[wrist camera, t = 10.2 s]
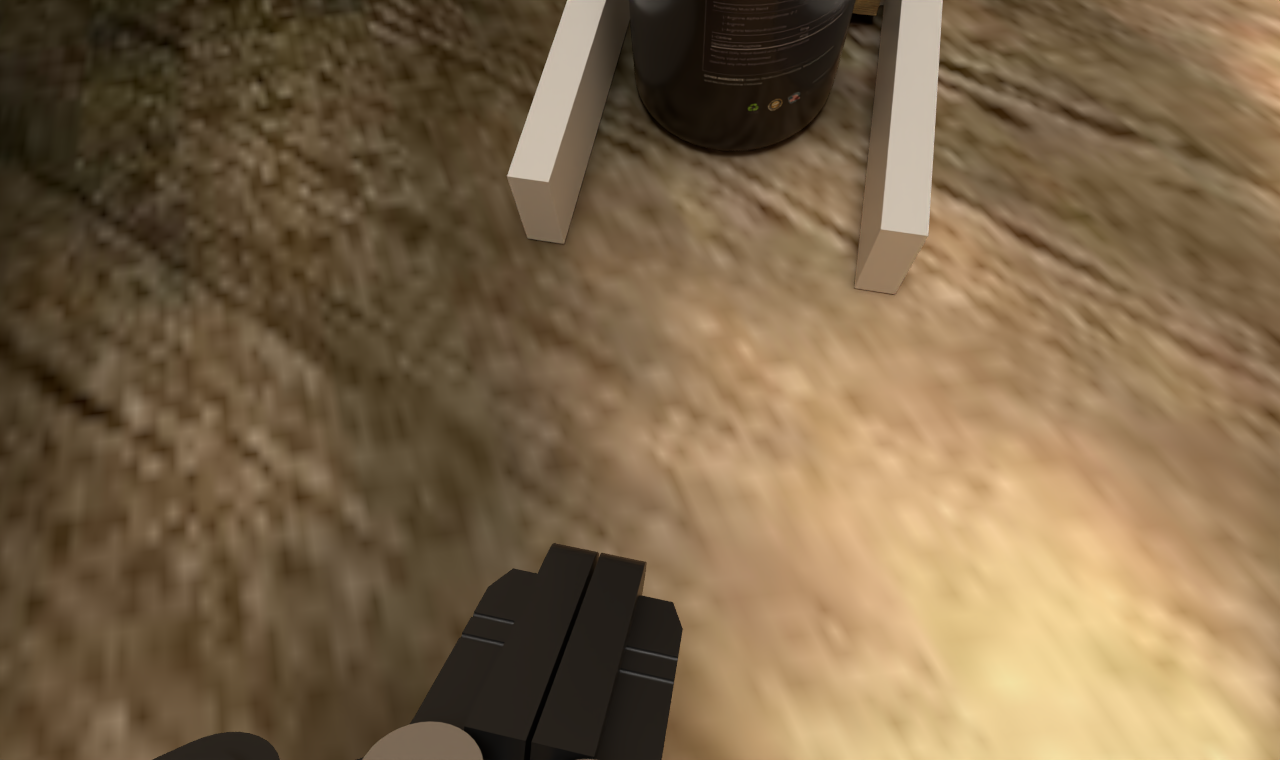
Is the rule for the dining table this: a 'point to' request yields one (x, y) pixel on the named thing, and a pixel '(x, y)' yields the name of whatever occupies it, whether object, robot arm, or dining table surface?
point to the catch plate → (866, 7)
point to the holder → (896, 147)
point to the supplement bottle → (736, 66)
